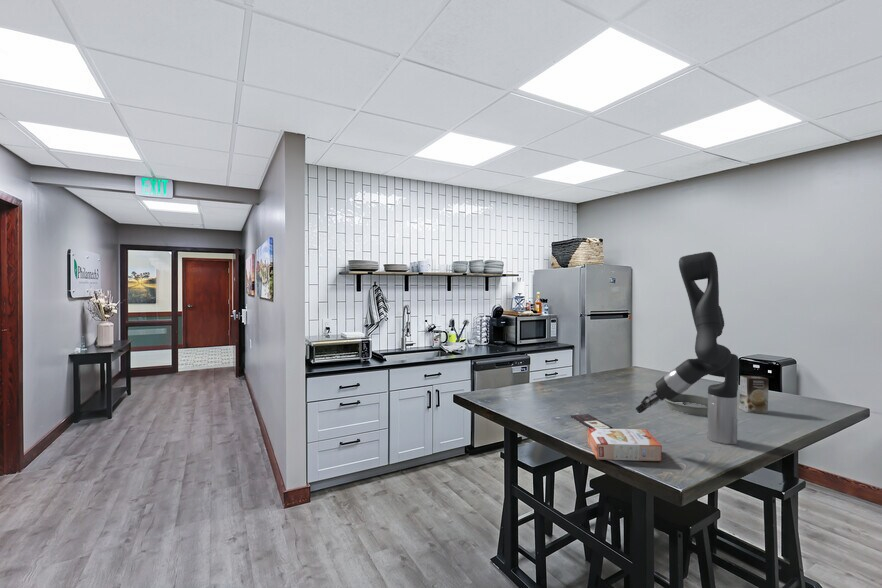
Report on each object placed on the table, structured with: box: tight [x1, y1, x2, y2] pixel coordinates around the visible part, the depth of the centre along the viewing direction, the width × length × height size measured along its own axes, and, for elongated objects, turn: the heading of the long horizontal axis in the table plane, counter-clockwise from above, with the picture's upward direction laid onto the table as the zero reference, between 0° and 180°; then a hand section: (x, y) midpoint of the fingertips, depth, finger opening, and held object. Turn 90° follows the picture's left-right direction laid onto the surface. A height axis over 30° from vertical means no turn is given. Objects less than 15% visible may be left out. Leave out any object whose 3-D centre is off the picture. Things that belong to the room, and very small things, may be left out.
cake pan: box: [664, 393, 708, 416], centre depth 199 cm, size 25×25×4 cm
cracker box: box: [587, 427, 663, 462], centre depth 145 cm, size 14×6×21 cm
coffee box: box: [738, 375, 770, 414], centre depth 195 cm, size 9×6×16 cm
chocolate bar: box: [569, 413, 614, 429], centre depth 178 cm, size 9×1×18 cm
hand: (638, 410), depth 151 cm, fingers closed
